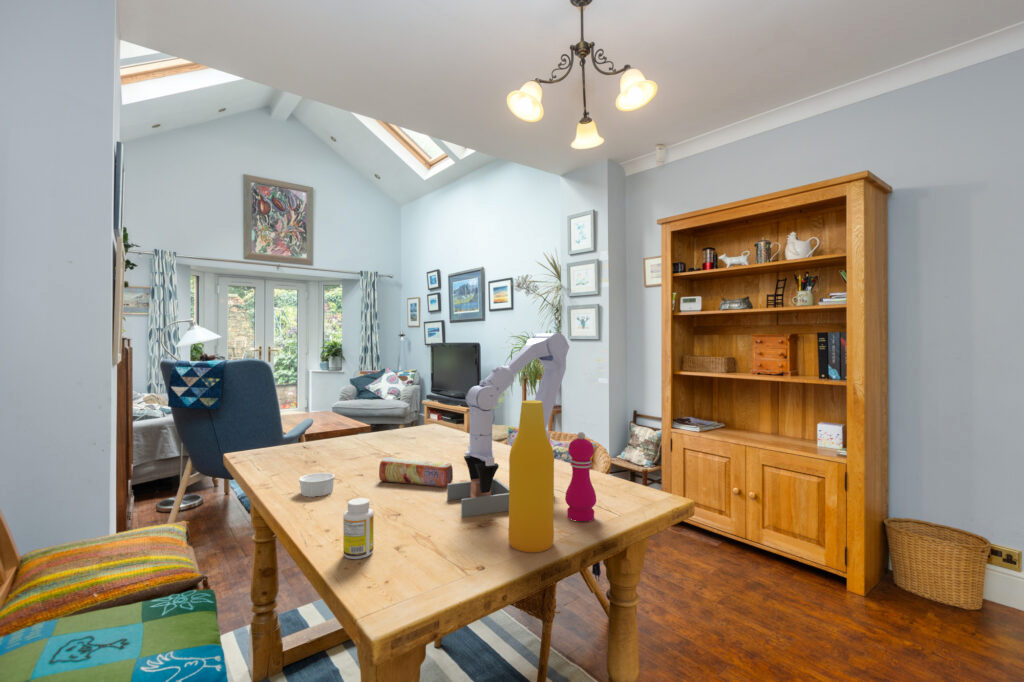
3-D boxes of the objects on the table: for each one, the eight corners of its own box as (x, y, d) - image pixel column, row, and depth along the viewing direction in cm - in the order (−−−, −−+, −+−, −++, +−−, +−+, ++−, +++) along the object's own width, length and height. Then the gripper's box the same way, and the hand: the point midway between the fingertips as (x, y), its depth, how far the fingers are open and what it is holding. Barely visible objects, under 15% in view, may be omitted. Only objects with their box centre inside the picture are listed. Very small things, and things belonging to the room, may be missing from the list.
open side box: (496, 493, 130) (496, 478, 130) (515, 509, 118) (515, 493, 118) (447, 499, 125) (447, 483, 125) (462, 517, 113) (462, 499, 113)
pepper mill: (598, 513, 115) (599, 430, 115) (593, 524, 109) (594, 436, 108) (568, 510, 118) (569, 428, 118) (562, 520, 111) (562, 433, 111)
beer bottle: (540, 557, 92) (541, 405, 92) (499, 546, 97) (500, 402, 97) (561, 540, 100) (562, 400, 100) (523, 531, 105) (524, 397, 105)
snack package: (454, 482, 140) (454, 459, 140) (445, 489, 134) (445, 465, 134) (388, 477, 146) (388, 454, 146) (376, 483, 139) (377, 460, 139)
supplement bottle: (363, 545, 97) (363, 494, 97) (379, 553, 93) (379, 500, 93) (337, 554, 93) (337, 501, 93) (353, 563, 89) (353, 508, 89)
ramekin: (291, 495, 128) (291, 479, 128) (316, 486, 136) (316, 470, 136) (317, 500, 124) (317, 483, 124) (341, 490, 132) (341, 474, 132)
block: (485, 501, 124) (485, 477, 124) (490, 506, 120) (490, 482, 120) (470, 503, 123) (470, 479, 123) (475, 508, 119) (475, 483, 119)
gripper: (457, 429, 127) (457, 481, 127) (474, 440, 113) (474, 498, 113) (483, 428, 129) (482, 478, 129) (502, 438, 116) (502, 494, 116)
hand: (480, 487), depth 121 cm, fingers open, 7 cm apart
